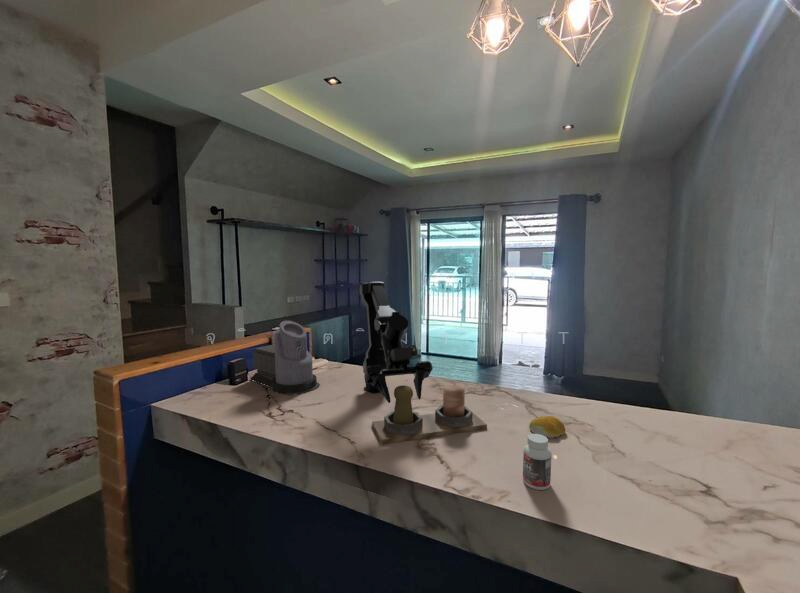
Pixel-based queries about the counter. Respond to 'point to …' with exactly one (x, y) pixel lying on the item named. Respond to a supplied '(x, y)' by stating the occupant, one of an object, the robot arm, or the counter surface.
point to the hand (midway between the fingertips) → (404, 400)
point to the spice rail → (432, 420)
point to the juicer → (286, 362)
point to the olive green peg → (403, 405)
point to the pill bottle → (537, 462)
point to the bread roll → (547, 426)
